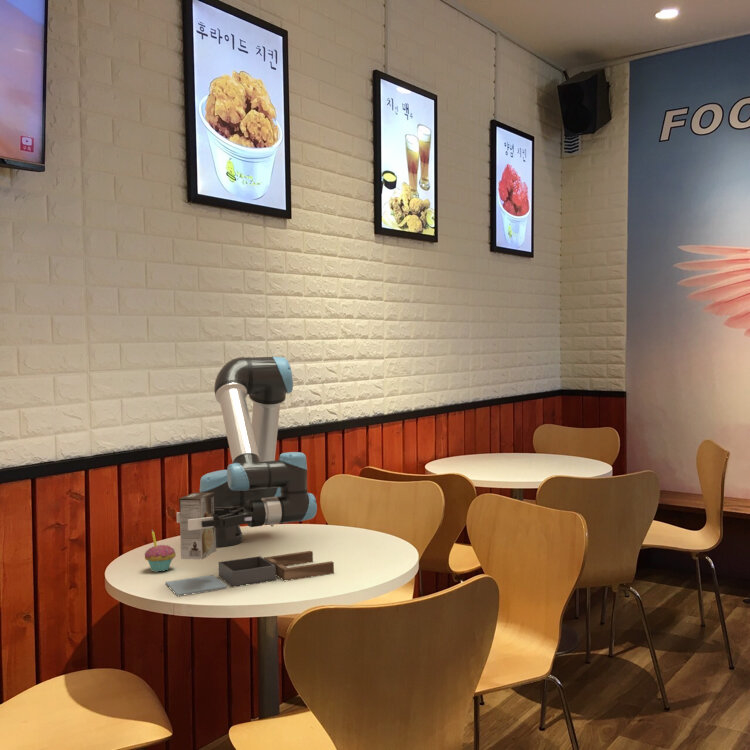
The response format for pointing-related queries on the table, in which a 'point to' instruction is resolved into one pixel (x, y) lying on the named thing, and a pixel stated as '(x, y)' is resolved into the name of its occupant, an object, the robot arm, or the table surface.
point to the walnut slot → (299, 571)
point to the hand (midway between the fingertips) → (182, 521)
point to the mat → (195, 585)
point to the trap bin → (247, 571)
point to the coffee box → (199, 540)
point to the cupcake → (159, 556)
